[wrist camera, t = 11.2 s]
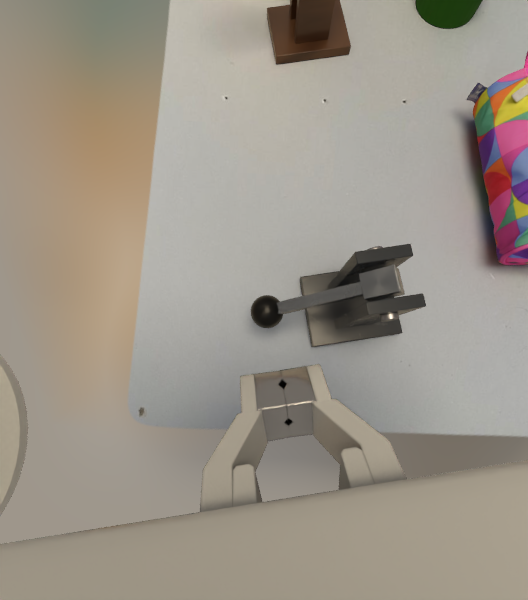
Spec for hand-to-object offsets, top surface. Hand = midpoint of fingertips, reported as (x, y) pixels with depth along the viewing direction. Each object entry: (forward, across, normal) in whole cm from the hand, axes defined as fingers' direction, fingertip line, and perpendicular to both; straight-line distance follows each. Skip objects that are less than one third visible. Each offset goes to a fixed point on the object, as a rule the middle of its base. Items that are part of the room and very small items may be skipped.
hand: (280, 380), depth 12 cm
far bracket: (+48, -12, -14) cm, 51 cm away
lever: (+16, -6, +8) cm, 19 cm away
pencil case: (+29, -31, +5) cm, 43 cm away
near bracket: (+21, -10, +13) cm, 26 cm away
